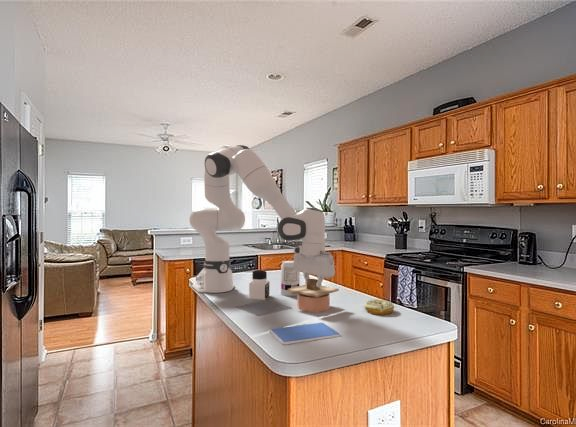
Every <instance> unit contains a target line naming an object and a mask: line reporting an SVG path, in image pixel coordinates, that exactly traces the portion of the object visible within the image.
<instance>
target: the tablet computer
mask: <svg viewBox="0 0 576 427" xmlns="http://www.w3.org/2000/svg"><path fill="white" fill-rule="evenodd" d="M268 332H269V333H270V334H271V336H273V337H274V338H275V339H276V340H277V341H278V342H279V343H280V344H281V345H282V346H283V345H286V346H287V345H291V344H297V343H299V344H300V343H304V342H312V341H318V340H327V339H335V338H340V337H342V334H341V333H339V332H338V331H337V330H335V329H333V328H332V327H330V326H329V325H327V324H326V323H324V322H316V323H309V324H301V325H292V326H283V327H277V328H275V327H274V328H270V329H269V331H268ZM326 338H327V339H326Z"/></svg>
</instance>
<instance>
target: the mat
mask: <svg viewBox="0 0 576 427" xmlns="http://www.w3.org/2000/svg"><path fill="white" fill-rule="evenodd" d="M234 308H237V309H240V310H242V311H244V312H247V313H250V314H252V315H255V316H256V317H261V316H266V315H269V314H274V313H278V312H282V311H283V312H284V311H287V310H291V309H293V307H291V306H288V305H285V304H282V303H279V302H275V301H273V300H270V299H265V300H259V301H255V302H251V303H246V304H244V303H243V304H239V305H234Z"/></svg>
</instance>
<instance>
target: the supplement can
mask: <svg viewBox="0 0 576 427" xmlns="http://www.w3.org/2000/svg"><path fill="white" fill-rule="evenodd" d="M280 270H281V271H280V277H281V278H280V294H281V295H282V296H285V297H295V296H296V297H297V293H294V292H290V291H288V289H289V288H294V287H298V286H300V276H301V275H300V273H301V272H299V271H295V269H294V260H284V261H282V263H281V266H280Z"/></svg>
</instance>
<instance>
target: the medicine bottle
mask: <svg viewBox="0 0 576 427" xmlns="http://www.w3.org/2000/svg"><path fill="white" fill-rule="evenodd" d="M267 275H268V274H267V271H266V270H264V269H257V270H254V271H252V281H251V282H249V283H248V284H249V286H248V292H249V293H248V295H249V296H248V297H249V298H248V299H250V300H261V301H264V300H268V298H269V297H270V280H267V279H268V278H267Z"/></svg>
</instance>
